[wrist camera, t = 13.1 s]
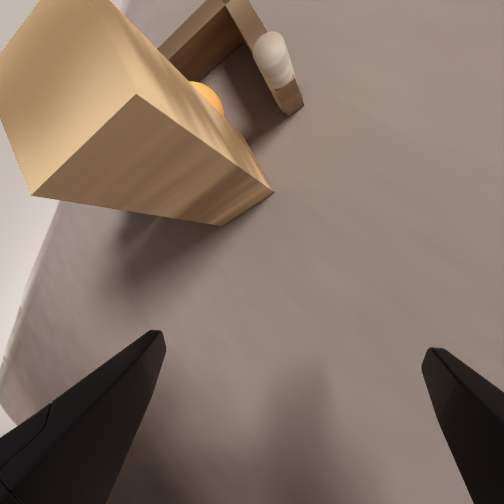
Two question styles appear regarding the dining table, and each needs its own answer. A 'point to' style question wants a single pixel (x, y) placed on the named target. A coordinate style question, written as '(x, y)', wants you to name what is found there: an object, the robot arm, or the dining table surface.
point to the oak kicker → (118, 121)
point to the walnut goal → (233, 47)
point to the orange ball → (209, 96)
